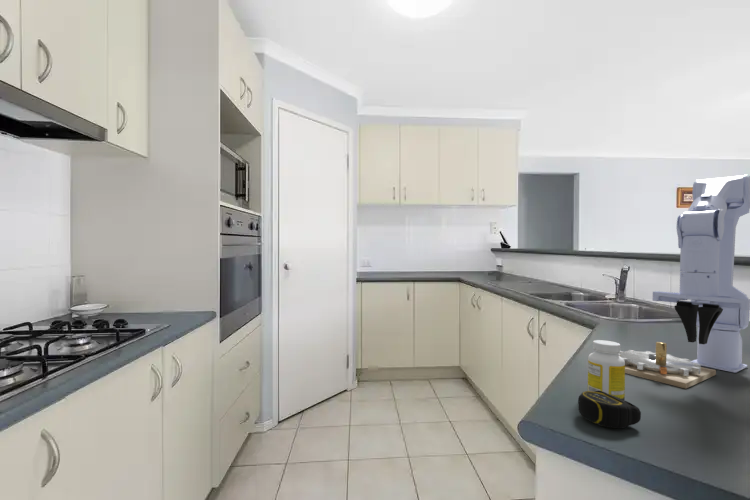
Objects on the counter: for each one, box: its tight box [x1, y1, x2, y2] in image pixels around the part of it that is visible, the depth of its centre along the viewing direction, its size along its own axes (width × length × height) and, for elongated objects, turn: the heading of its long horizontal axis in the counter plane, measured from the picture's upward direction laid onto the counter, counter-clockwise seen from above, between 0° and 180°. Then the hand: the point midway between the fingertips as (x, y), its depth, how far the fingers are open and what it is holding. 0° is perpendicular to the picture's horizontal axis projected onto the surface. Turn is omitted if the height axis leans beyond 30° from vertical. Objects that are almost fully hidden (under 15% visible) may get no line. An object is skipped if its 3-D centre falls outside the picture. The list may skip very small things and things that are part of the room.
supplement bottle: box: [587, 339, 626, 401], centre depth 64 cm, size 5×5×10 cm
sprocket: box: [618, 341, 702, 376], centre depth 82 cm, size 15×15×6 cm
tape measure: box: [577, 390, 642, 429], centre depth 55 cm, size 7×7×4 cm
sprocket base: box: [625, 365, 717, 390], centre depth 82 cm, size 17×16×1 cm
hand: (697, 342), depth 72 cm, fingers closed
